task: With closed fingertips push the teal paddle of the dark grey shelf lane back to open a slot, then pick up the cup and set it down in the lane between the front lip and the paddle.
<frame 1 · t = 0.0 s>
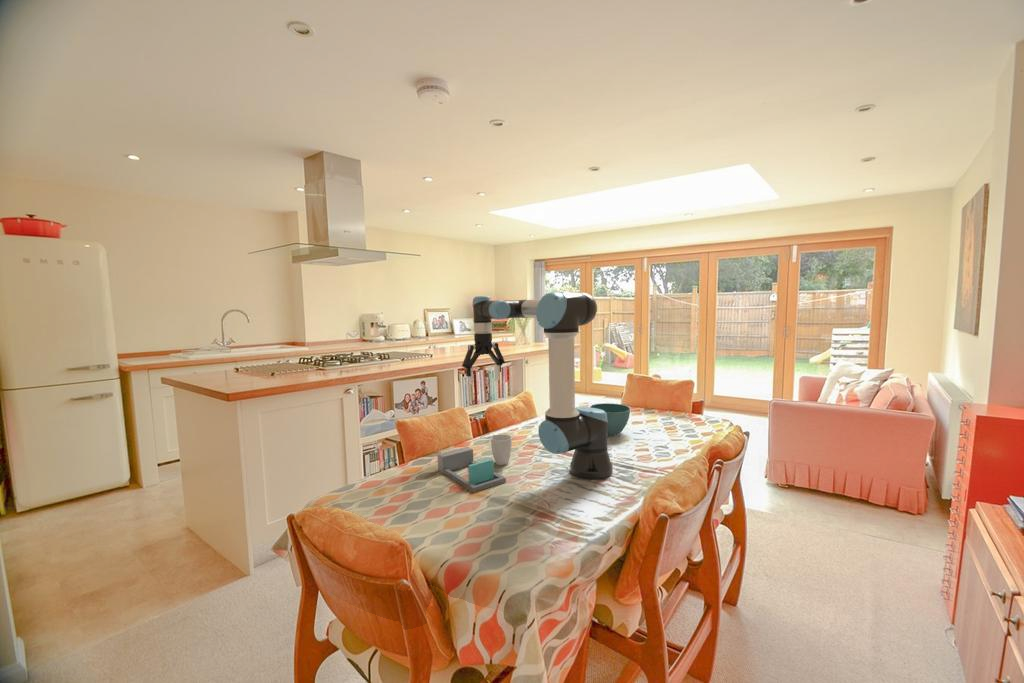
hand: (484, 382, 187), 28 cm above the table, fingers open, 13 cm apart
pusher: (478, 470, 152), point 4 cm above the table, slide at 0.0 cm
cup: (501, 463, 169), on the table
lane: (472, 476, 156), on the table
teal bowl: (609, 433, 203), on the table
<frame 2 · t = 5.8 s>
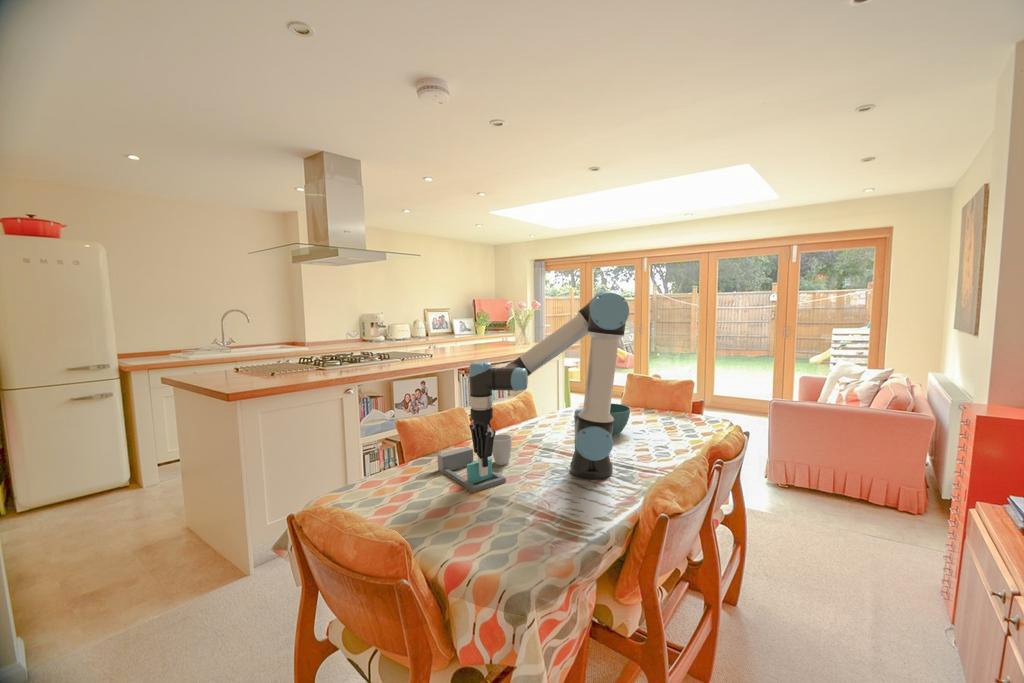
hand: (483, 475, 149), 3 cm above the table, fingers closed
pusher: (477, 469, 153), point 4 cm above the table, slide at 1.1 cm, touching gripper
everything else where it was.
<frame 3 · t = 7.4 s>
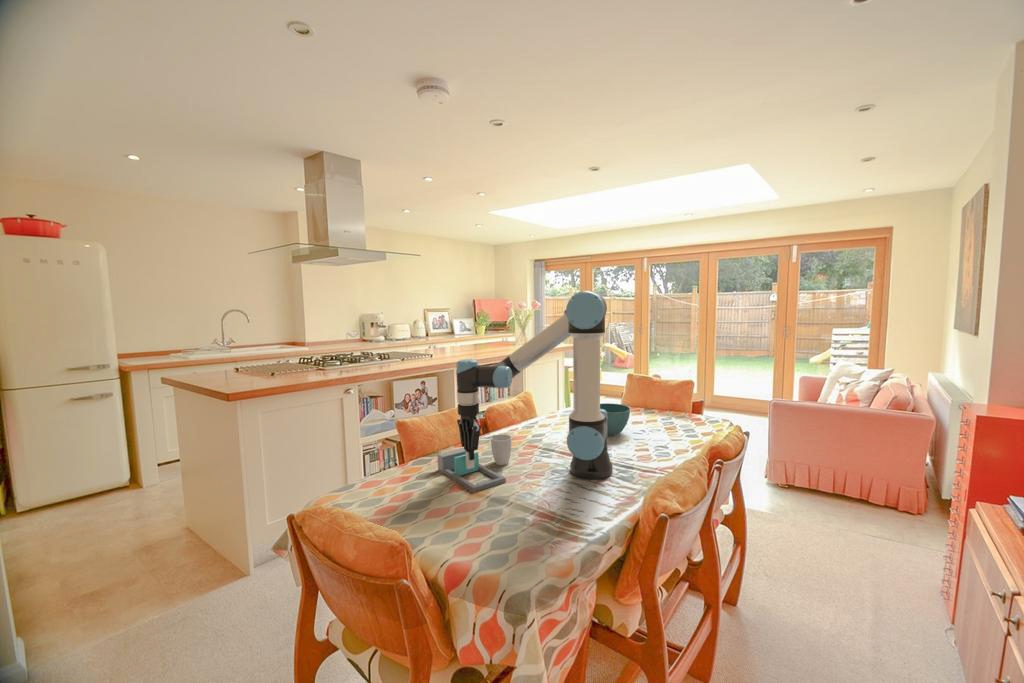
hand: (470, 467, 156), 3 cm above the table, fingers closed
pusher: (464, 462, 160), point 4 cm above the table, slide at 10.0 cm, touching gripper
everything else where it was.
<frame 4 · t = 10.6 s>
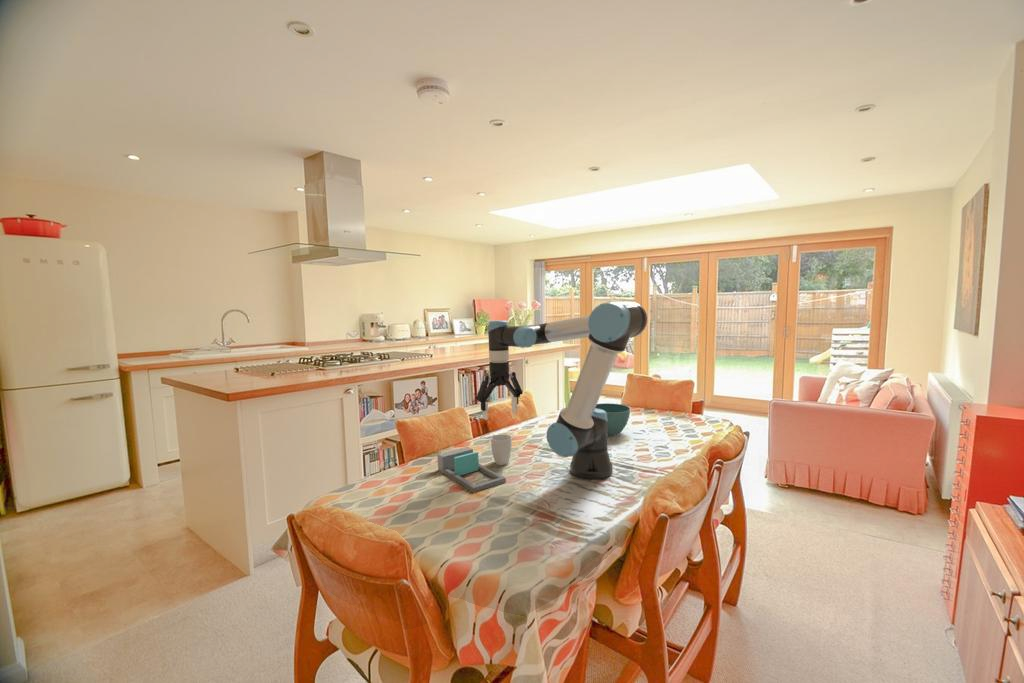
hand: (500, 416, 167), 18 cm above the table, fingers open, 13 cm apart
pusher: (464, 462, 160), point 4 cm above the table, slide at 10.0 cm
everything else where it was.
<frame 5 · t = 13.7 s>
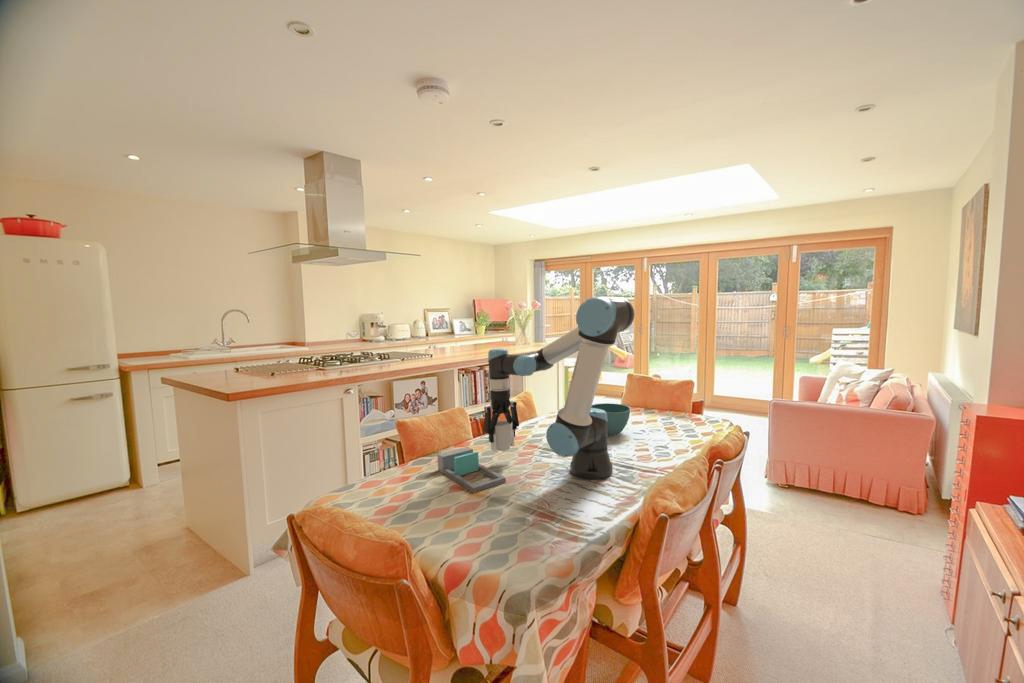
hand: (502, 447, 168), 6 cm above the table, fingers closed on cup, 8 cm apart
cup: (503, 449, 168), point 6 cm above the table, touching gripper
everything else where it was.
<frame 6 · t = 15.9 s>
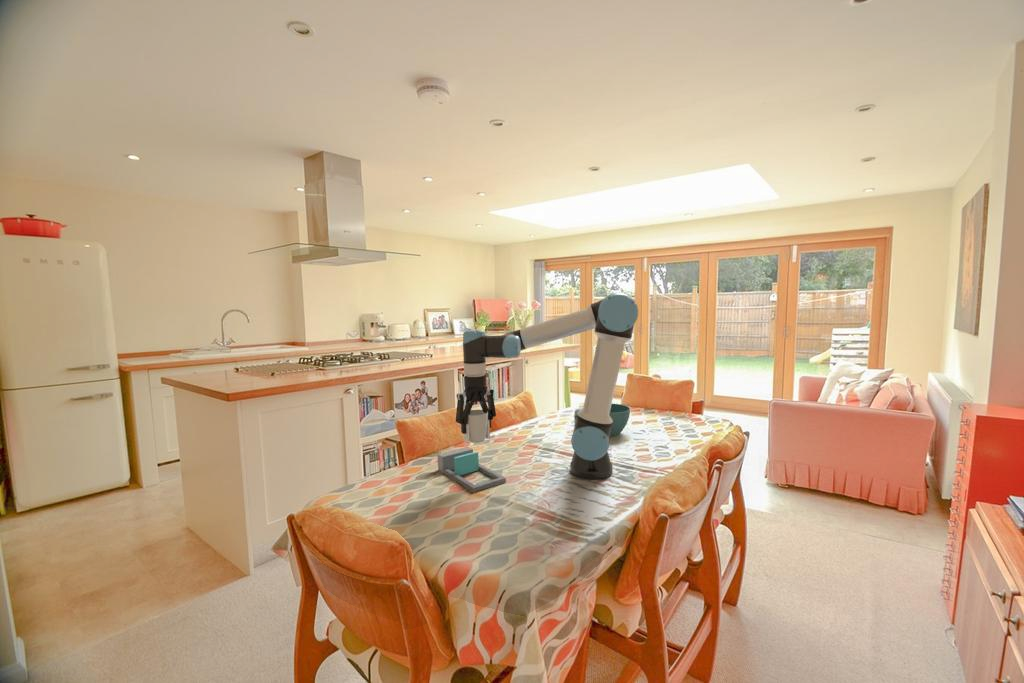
hand: (476, 439, 151), 14 cm above the table, fingers closed on cup, 8 cm apart
cup: (476, 441, 151), point 14 cm above the table, touching gripper
everything else where it was.
when the fingers open (3 cm above the table, at t = 18.3 s): cup drops 2 cm, resting in lane.
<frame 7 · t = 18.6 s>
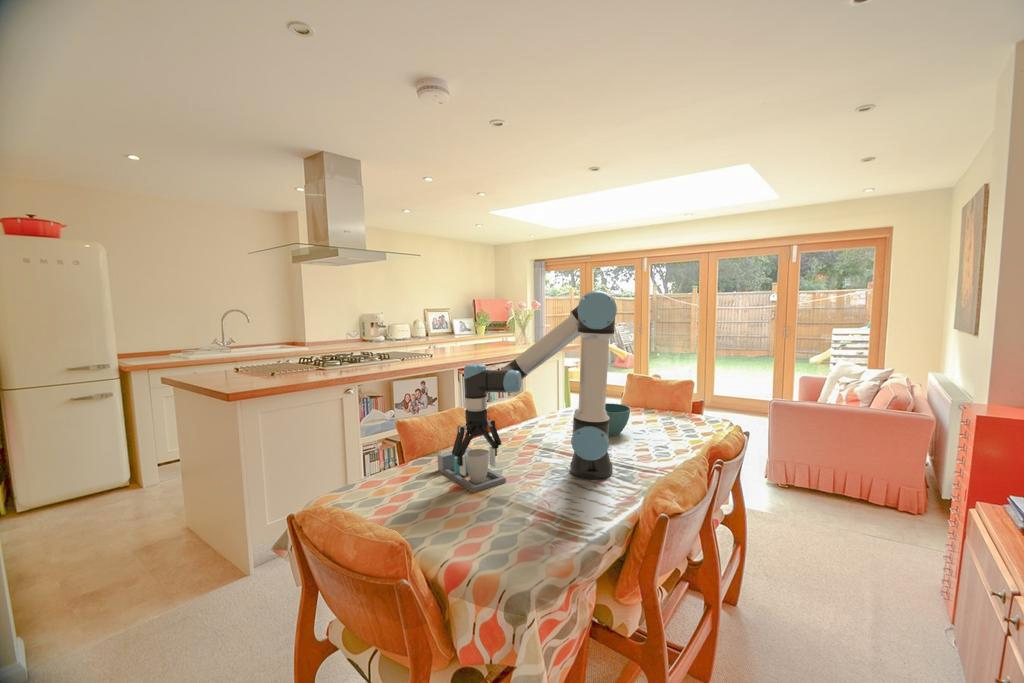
hand: (478, 469, 152), 4 cm above the table, fingers open, 11 cm apart
cup: (478, 481, 152), resting in lane
everything else where it was.
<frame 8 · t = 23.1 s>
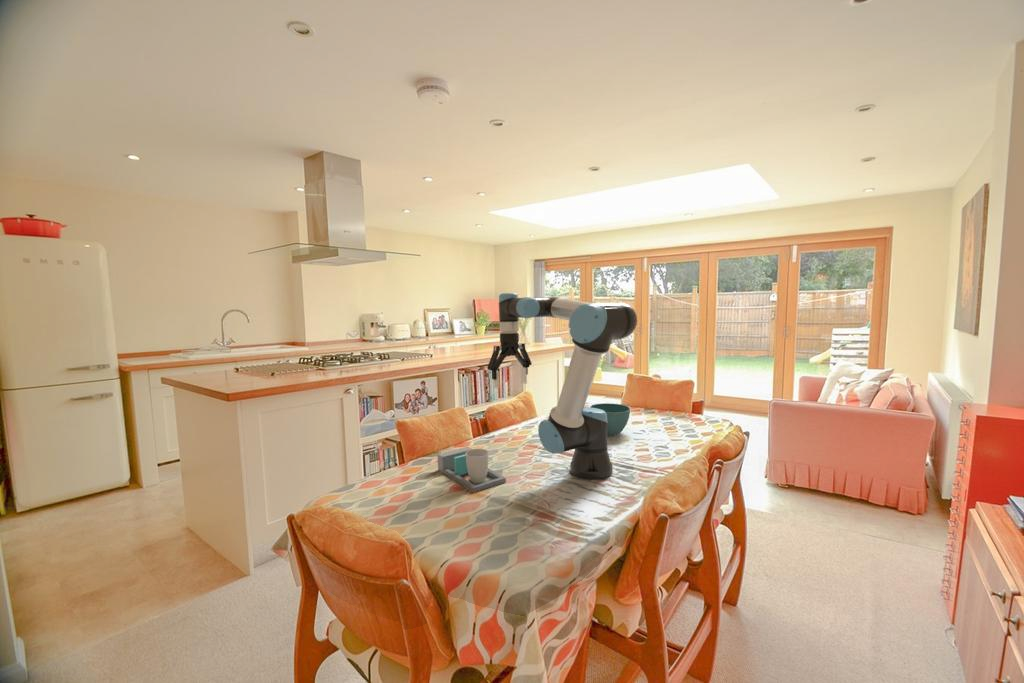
hand: (510, 385, 174), 29 cm above the table, fingers open, 13 cm apart
nothing on the table moved.
at the end: cup inside the target area on the lane (1.1 cm from its centre), point 0.0 cm above the lane's base; cup tilted 0°; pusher slide at 10.0 cm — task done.
